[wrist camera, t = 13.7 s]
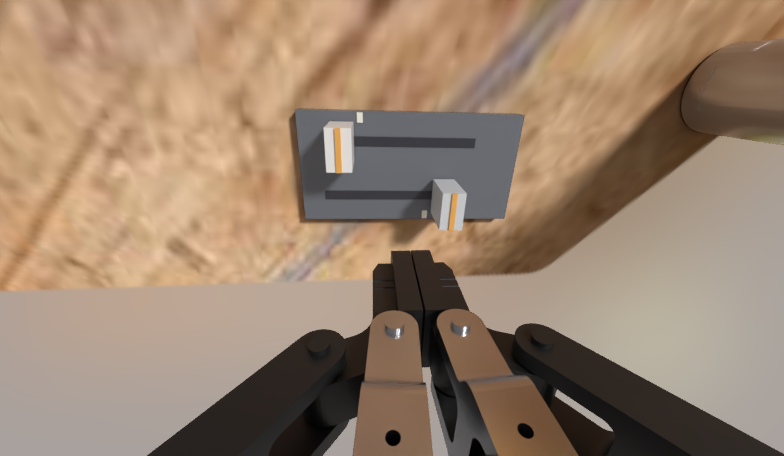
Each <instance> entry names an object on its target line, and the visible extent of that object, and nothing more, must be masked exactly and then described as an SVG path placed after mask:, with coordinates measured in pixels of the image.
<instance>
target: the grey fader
mask: <svg viewBox="0 0 784 456" xmlns="http://www.w3.org/2000/svg"><path fill="white" fill-rule="evenodd" d="M466 196H467V193H466V192H465V191H464V190H463V189H462V188H461V186H460V185H459V184H458V183H457V182H456V181H455V180H454V179H433V188H432V200H431V211H430V212H431V214H432V216H433V218H434V220H435V222H436V224H437V227H438V229H439V230H448V231H453V230H462V226H463V218H464V211H465V204H466Z"/></svg>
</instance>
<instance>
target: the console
mask: <svg viewBox="0 0 784 456" xmlns="http://www.w3.org/2000/svg"><path fill="white" fill-rule="evenodd" d="M524 116H525V115H522V114H504V113H463V112H422V111H380V110H339V109H295V117H296V127H297V138H298V148H299V158H300V168H301V179H302V189H303V199H304V209H305V219H434V218H433V216H432V214H431V212H430V211H431V200H432V188H433V179H454V180H455V181H456V182H457V183H458V184H459V185H460V186H461V188H462V189H463V190H464V191H465V192H466V193H467V196H466V204H465V211H464V218H463V219H504V217H505V212H506V207H507V202H508V197H509V192H510V187H511V182H512V177H513V172H514V167H515V162H516V157H517V151H518V146H519V141H520V136H521V131H522V126H523V121H524ZM329 121H344V122H353V126H354V165H353V172H352V173H326V160H325V144H324V127H325V126H326V125H327V124H328V122H329Z"/></svg>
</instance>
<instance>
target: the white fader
mask: <svg viewBox="0 0 784 456" xmlns="http://www.w3.org/2000/svg"><path fill="white" fill-rule="evenodd" d="M324 144H325V160H326V173H352V172H353V165H354V126H353V122H344V121H329V122H328V124H327V125H326V126H325V127H324Z"/></svg>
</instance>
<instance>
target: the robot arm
mask: <svg viewBox="0 0 784 456" xmlns="http://www.w3.org/2000/svg"><path fill="white" fill-rule="evenodd" d="M681 110H682V116H683V119H684V122H685V123H686V124H687V126H688V127H689V128H691V129H692V130H694V131H697V132H701V133H707V134H713V135H720V136H727V137H733V138H739V139H745V140H752V141H758V142H765V143H772V144H778V145H784V38H782V39H772V40H763V41H753V42H743V43H737V44H731V45H729V46H726V47H724V48H721V49H720V50H718V51H717V52H715V53H713V54H712V55H711V56H710V57H708V58H707V59H706V60H705V61H704V62H703V63H702V64H701V65H700V66H699V67H698V68H697V70H696V71H695V72H694V74H693V75H692V77H691V78H690V80H689V82H688V84H687V86H686V88H685V91H684V94H683V98H682V105H681ZM422 367H430V370H431V375H432V377H431V392H432V396H433V399H434V403H435V406H436V410H437V414H438V417H439V421H440V425H441V428H442V432H443V436H444V439H445V443H446V447H447V450H448V456H784V454H783V453H781V452H779V451H777V450H775V449H773V448H771V447H769V446H768V445H766V444H764V443H762V442H760V441H758V440H757V439H754V438H753V437H751V436H749V435H747V434H746V433H744V432H742V431H740V430H738V429H736V428H734V427H733V426H731V425H729V424H727V423H725V422H723V421H721V420H720V419H718V418H716V417H714V416H712V415H710V414H708V413H706V412H705V411H703V410H701V409H699V408H697V407H695V406H694V405H692V404H690V403H688V402H686V401H684V400H683V399H681V398H679V397H677V396H675V395H673V394H671V393H669V392H668V391H666V390H664V389H662V388H660V387H659V386H657V385H655V384H653V383H651V382H649V381H647V380H645V379H644V378H642V377H640V376H638V375H636V374H634V373H632V372H631V371H629V370H627V369H625V368H623V367H621V366H620V365H618V364H616V363H614V362H612V361H610V360H609V359H607V358H605V357H603V356H601V355H599V354H597V353H595V352H594V351H592V350H590V349H588V348H586V347H584V346H583V345H581V344H579V343H577V342H575V341H573V340H571V339H570V338H568V337H566V336H564V335H562V334H560V333H559V332H556V331H555V330H553V329H551V328H549V327H546V326H544V325H540V324H531V323H530V324H524V325H521V326H519V327H518V328H517V330H516V332H515V335H512V334H508V333H503V332H498V331H494V330H491V329H488V328H486V326H485V325H484V323H483V321H482V320H481V319H480V318H479V317H478V316H477V315H475V314H474V313H472V312H470V311H469V309H468V306H467V304H466V302H465V300H464V297H463V295H462V292H461V290H460V288H459V287H458V283H457V281H456V279H455V276H454V274H453V271H452V269H451V268H449V267H448V266H447V265H446V264H445V263H444V262H440V263H434V261H433V258H432V255H431V252H430V250H415V251H411V252H410V251H391V264H378V265H377V266H376V268H375V269H374V270H373V320H372V323H371V324H370V326H369V327H368V328H367V329H366V330H365V331H363V332H362V333H360V334H358V335H355V336H352V337H349V338H346V339H344V338H343V337H342V336H341V335H340V334H339V333H337V332H335V331H332V330H326V329H325V330H324V329H322V330H316V331H312V332H309V333H307V334H306V335H304V336H302V337H301V338H300V339H298V340H297V341H296V342H295V343H293V344H292V345H290V347H288V348H287V349H285V350H284V351H283V352H281V353H280V354H279V355H277V356H276V357H275V358H274V359H272V360H271V361H270V362H268V363H267V364H266V365H265V366H263V367H262V368H261V369H259V370H258V371H257V372H255V373H254V374H253V375H251V376H250V377H249V378H248V379H246V380H245V381H244V382H242V383H241V384H240V385H238V386H237V387H236V388H235V389H233V390H232V391H231V392H229V393H228V394H227V395H225V396H224V397H223V398H221V399H220V400H219V401H218V402H216V403H215V404H214V405H212V406H211V407H210V408H208V409H207V410H206V411H205V412H203V413H202V414H201V415H200V416H198V417H197V418H195V419H194V420H193V421H192V422H190V423H189V424H188V425H186V426H185V427H184V428H182V429H181V430H180V431H178V432H177V433H176V434H175V435H173V436H172V437H171V438H169V439H168V440H167V441H165V442H164V443H163V444H162V445H160V446H159V447H158V448H156V449H155V450H154V451H152V452H151V453H150V454H149V455H147V456H323V454H324V453H325V452H326V451H327V450H328V448H329V447H330V446H331V444H333V442H334V441H335V440H336V439H337V438H338V436H339V435H340V434H341V433H342V431H343V430H344V429H345V428H346V426H347V424H348V422H349V419H352V418H355V417H357V423H356V431H355V439H354V448H353V456H433V451H432V440H431V430H430V419H429V408H428V398H427V389H426V383H423V376H422ZM557 389H558V390H559V391H561V392H562V393H564V394H565V395H567V396H568V397H570V398H571V399H573V400H574V401H576V402H577V403H579V404H580V405H582V406H583V407H585V408H586V409H588V410H589V411H591V412H593V413H594V414H595V415H597V416H598V417H600V418H602V419H603V420H604V421H606V423H608V424H609V426H610V427H611V428H612V429H613V431H614V432H612V431H607V430H605V429H603V428H601V427H600V426H598V425H597V424H595V423H594V422H592V421H591V420H589V419H588V418H586V417H585V416H583V415H582V414H581V413H579V412H578V411H576V410H575V409H573V408H572V407H570V406H569V405H567V404H566V403H564V402H563V401H561V400H560V399H558V398H557V397H555V393H556V391H557Z"/></svg>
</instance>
